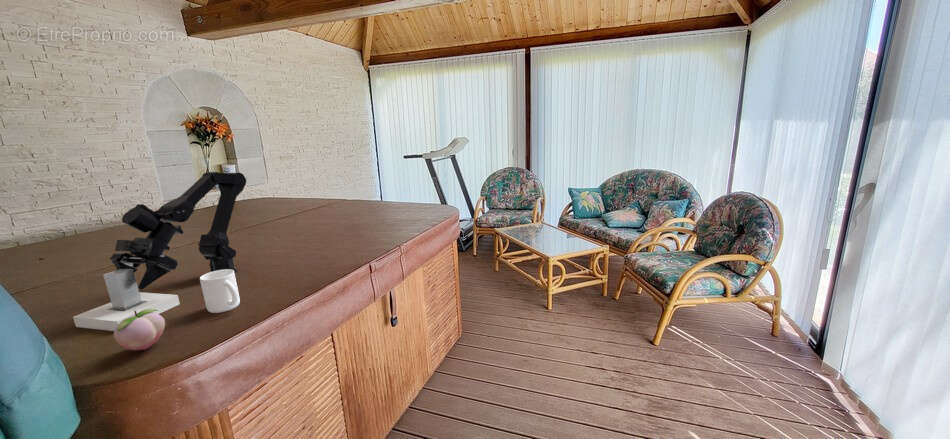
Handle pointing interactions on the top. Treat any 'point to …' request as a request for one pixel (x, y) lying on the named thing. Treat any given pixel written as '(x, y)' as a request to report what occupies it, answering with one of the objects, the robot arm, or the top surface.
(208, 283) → the mug
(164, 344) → the top surface
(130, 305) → the grey square peg
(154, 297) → the socket plate
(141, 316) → the decorative fruit
